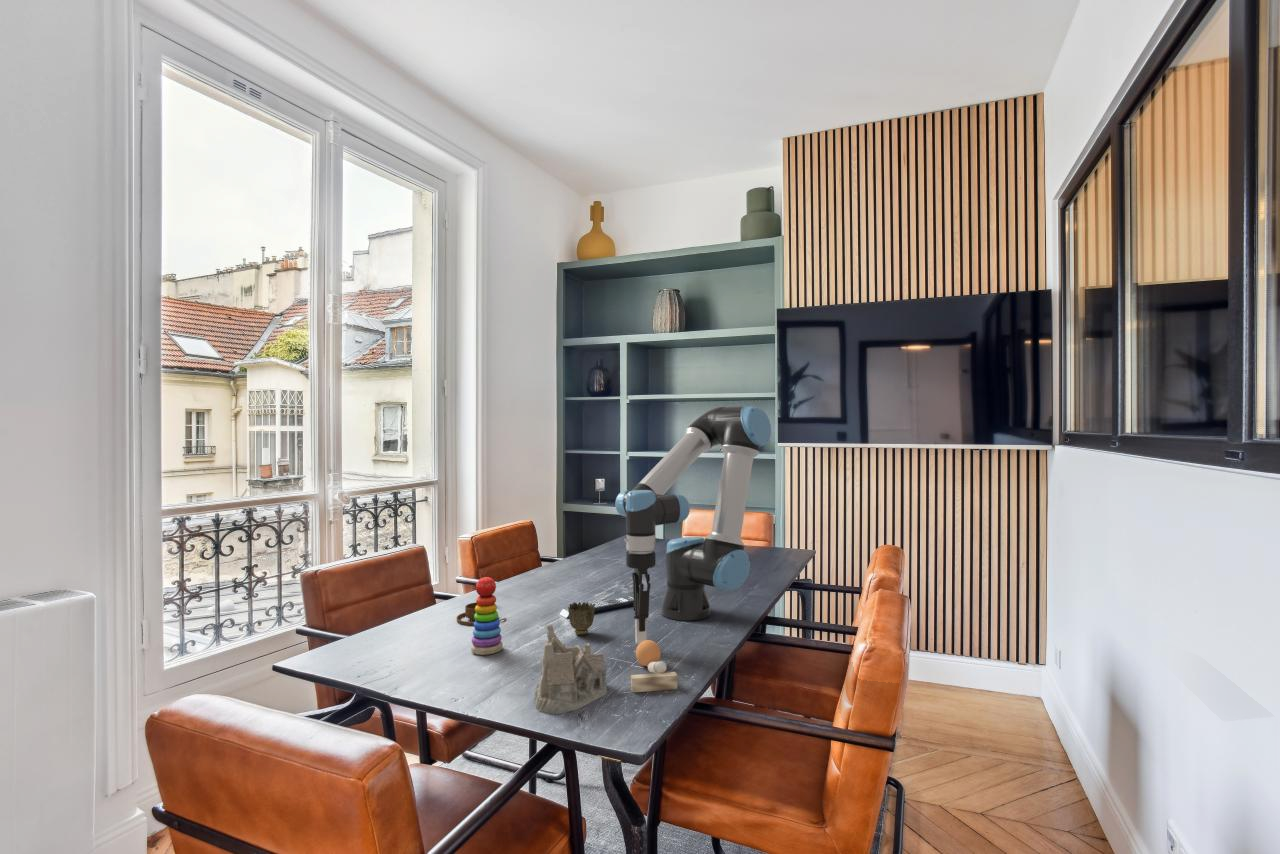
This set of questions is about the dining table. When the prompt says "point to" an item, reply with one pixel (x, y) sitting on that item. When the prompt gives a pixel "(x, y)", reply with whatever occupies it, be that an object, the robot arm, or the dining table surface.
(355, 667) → the dining table surface
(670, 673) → the stopper rail
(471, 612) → the place setting
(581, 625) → the cup
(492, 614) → the stacking toy
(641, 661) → the ball
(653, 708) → the dining table surface
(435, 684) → the dining table surface
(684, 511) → the robot arm
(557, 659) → the ceramic cottage
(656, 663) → the pin
